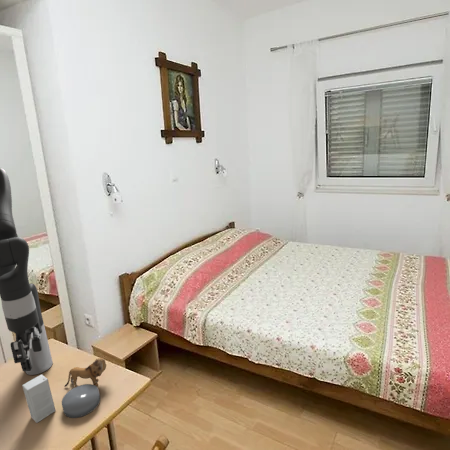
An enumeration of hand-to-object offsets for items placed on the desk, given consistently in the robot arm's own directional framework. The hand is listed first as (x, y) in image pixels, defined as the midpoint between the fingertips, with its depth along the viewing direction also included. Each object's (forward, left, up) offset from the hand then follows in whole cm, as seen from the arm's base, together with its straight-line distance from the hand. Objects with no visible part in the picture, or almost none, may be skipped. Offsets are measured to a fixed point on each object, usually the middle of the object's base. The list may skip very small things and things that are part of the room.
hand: (33, 360), depth 98 cm
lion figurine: (-11, +14, -22) cm, 29 cm away
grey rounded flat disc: (-2, +10, -22) cm, 24 cm away
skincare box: (-5, -1, -22) cm, 23 cm away
